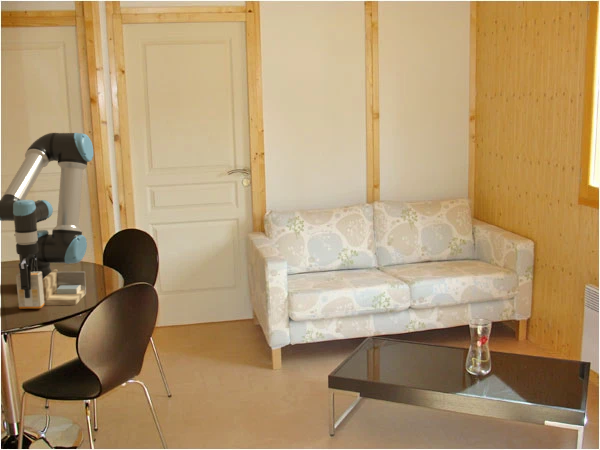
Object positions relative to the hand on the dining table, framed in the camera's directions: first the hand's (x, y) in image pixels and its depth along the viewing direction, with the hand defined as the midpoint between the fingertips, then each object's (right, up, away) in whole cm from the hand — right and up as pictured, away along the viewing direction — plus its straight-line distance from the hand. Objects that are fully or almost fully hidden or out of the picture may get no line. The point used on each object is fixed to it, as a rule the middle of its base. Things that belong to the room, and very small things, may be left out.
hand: (31, 303), depth 259 cm
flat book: (+9, +3, +16) cm, 19 cm away
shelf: (+8, 0, +13) cm, 16 cm away
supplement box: (0, -1, 0) cm, 2 cm away
